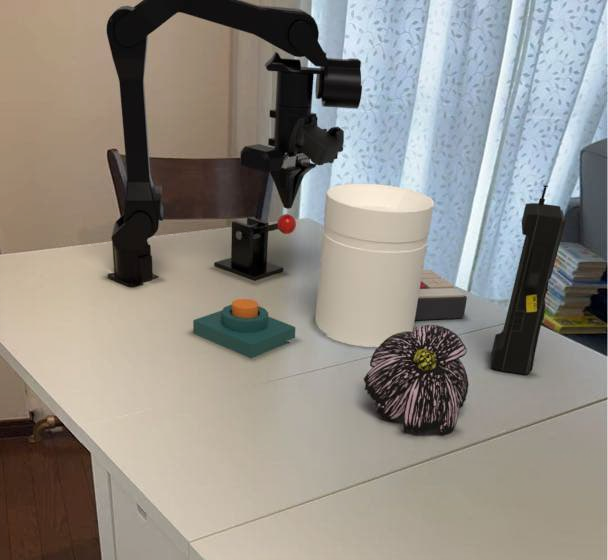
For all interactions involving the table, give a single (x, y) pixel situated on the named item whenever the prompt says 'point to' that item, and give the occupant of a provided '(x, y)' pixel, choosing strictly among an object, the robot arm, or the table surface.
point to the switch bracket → (249, 252)
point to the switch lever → (276, 226)
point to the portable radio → (529, 288)
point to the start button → (245, 308)
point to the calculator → (438, 298)
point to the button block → (244, 331)
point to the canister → (371, 262)
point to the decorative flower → (419, 379)
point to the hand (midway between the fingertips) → (287, 208)
